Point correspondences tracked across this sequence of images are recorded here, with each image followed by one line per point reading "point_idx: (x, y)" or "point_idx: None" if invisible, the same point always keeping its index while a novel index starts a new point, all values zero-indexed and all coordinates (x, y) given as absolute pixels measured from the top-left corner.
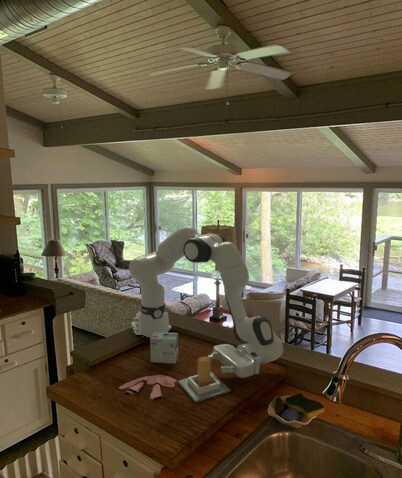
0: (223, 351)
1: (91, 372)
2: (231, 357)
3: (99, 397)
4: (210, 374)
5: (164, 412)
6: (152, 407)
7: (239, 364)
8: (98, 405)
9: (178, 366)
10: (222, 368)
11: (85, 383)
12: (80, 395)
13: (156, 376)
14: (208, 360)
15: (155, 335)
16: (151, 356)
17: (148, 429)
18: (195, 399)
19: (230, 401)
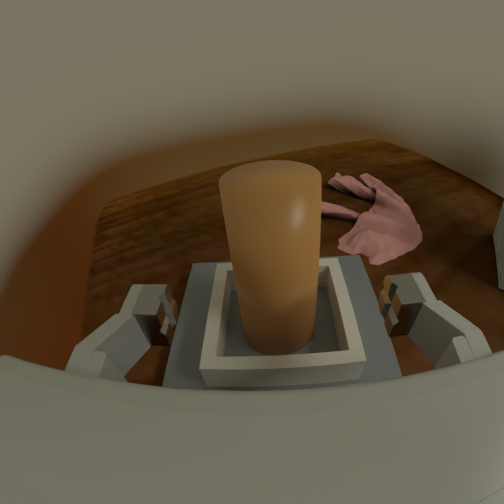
0: (460, 416)
1: (429, 163)
2: (210, 453)
3: (336, 157)
4: (327, 360)
5: (215, 209)
6: None
7: (19, 398)
8: (309, 155)
9: (482, 294)
10: (137, 285)
11: (389, 154)
12: (350, 148)
13: (412, 226)
14: (244, 188)
15: None
16: (499, 217)
17: (185, 187)
18: (199, 265)
19: None
